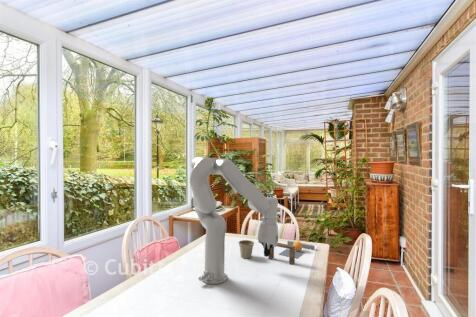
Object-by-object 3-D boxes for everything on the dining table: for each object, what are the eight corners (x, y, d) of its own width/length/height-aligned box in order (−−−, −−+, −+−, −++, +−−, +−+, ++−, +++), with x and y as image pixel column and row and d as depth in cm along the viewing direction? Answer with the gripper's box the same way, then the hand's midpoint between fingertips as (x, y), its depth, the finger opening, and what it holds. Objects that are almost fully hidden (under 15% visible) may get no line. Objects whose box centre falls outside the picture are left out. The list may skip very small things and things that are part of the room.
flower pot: (254, 254, 172) (254, 240, 172) (253, 260, 162) (253, 245, 162) (239, 253, 173) (239, 239, 172) (237, 259, 163) (237, 244, 163)
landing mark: (297, 258, 166) (297, 258, 166) (278, 254, 172) (278, 254, 172) (304, 252, 176) (304, 252, 176) (286, 249, 182) (286, 248, 182)
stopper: (313, 250, 180) (313, 246, 180) (287, 245, 190) (287, 241, 190) (314, 249, 182) (314, 245, 182) (288, 244, 192) (288, 240, 192)
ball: (299, 250, 174) (301, 241, 176) (290, 248, 177) (292, 239, 179) (302, 253, 178) (304, 243, 180) (293, 251, 182) (295, 241, 184)
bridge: (292, 264, 156) (292, 247, 156) (268, 259, 164) (268, 242, 164) (294, 263, 158) (294, 246, 158) (270, 257, 167) (271, 241, 167)
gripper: (253, 219, 149) (250, 254, 149) (279, 224, 141) (276, 261, 141) (260, 217, 156) (257, 250, 155) (285, 222, 147) (282, 257, 147)
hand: (266, 255), depth 148 cm, fingers closed
